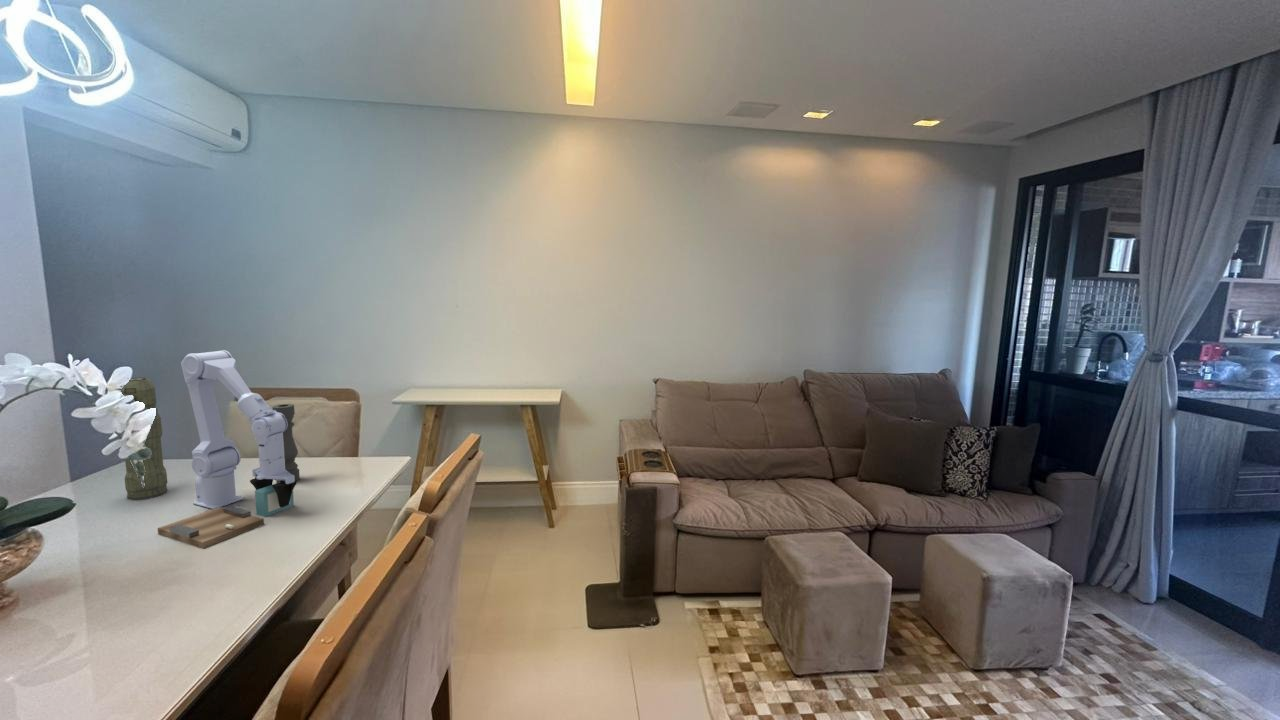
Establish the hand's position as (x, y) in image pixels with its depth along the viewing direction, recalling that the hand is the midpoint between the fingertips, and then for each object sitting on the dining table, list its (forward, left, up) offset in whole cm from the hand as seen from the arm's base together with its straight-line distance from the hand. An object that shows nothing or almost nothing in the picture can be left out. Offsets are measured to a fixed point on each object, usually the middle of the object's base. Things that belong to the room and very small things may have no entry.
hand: (275, 503), depth 143 cm
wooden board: (-3, -14, -2) cm, 14 cm away
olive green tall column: (-44, -8, -2) cm, 45 cm away
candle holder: (-18, +16, -2) cm, 24 cm away
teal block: (0, 0, -2) cm, 2 cm away
